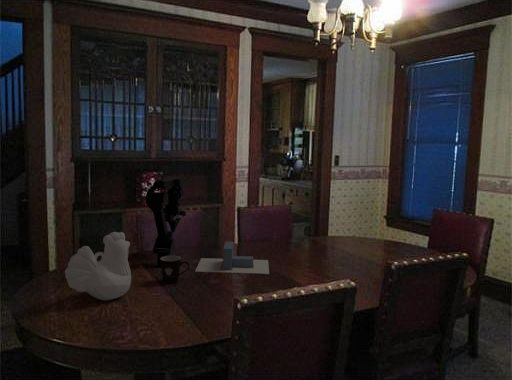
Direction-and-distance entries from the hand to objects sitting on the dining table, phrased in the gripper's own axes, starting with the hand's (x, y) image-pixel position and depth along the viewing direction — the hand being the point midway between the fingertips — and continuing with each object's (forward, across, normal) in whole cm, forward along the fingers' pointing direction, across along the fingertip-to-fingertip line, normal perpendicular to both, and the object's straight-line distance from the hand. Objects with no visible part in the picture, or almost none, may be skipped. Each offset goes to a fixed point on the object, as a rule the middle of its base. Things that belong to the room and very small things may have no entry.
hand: (172, 232), depth 216 cm
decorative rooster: (+13, +60, -1) cm, 61 cm away
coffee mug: (+13, +34, +17) cm, 40 cm away
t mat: (+13, +4, +34) cm, 37 cm away
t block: (+13, +3, +36) cm, 39 cm away
